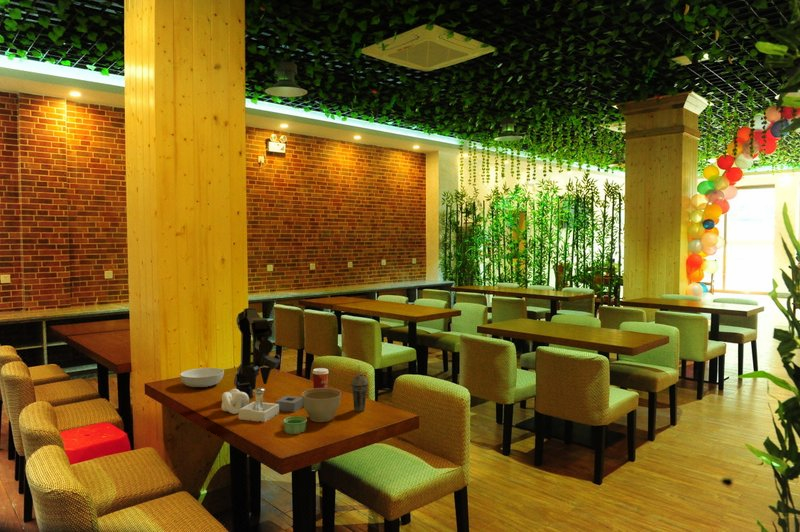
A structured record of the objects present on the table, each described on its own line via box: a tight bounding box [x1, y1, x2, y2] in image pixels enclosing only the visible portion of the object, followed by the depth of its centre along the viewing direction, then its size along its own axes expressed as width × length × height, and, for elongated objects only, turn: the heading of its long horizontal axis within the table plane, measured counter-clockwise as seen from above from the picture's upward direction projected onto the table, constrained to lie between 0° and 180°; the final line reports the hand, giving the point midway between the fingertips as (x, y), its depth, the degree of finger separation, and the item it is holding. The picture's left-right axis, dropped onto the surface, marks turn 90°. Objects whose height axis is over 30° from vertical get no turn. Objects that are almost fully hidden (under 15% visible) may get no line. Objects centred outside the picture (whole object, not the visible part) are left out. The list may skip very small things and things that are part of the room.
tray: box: [238, 401, 280, 423], centre depth 226 cm, size 12×12×4 cm
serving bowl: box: [179, 367, 225, 388], centre depth 273 cm, size 21×21×7 cm
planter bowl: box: [301, 387, 342, 423], centre depth 224 cm, size 16×16×11 cm
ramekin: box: [283, 415, 308, 435], centre depth 210 cm, size 9×9×4 cm
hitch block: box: [275, 395, 304, 413], centre depth 238 cm, size 9×9×4 cm
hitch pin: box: [253, 387, 266, 411], centre depth 226 cm, size 5×5×10 cm
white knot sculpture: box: [221, 388, 250, 415], centre depth 233 cm, size 11×12×9 cm
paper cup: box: [311, 367, 329, 389], centre depth 252 cm, size 8×8×14 cm
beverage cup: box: [351, 365, 369, 413], centre depth 236 cm, size 7×7×20 cm
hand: (259, 386), depth 226 cm, fingers open, 9 cm apart
